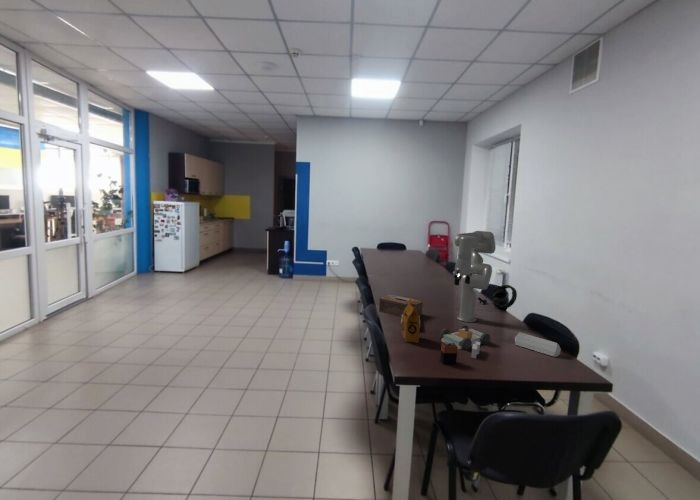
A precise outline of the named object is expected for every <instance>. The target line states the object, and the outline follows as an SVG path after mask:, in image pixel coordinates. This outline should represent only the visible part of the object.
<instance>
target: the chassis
mask: <svg viewBox="0 0 700 500" xmlns="http://www.w3.org/2000/svg"><path fill="white" fill-rule="evenodd" d="M463 328H467V329H468V330H470V331H472V332H473V333H472V339H469V338H464V339H463V338H460V337H458V334H459V331H456V332H452V333H451V331H450V330H449V329H447V328H442V330H441V331H440V333H439V337H440V338H441V339H440V340H441V342H442V343H445V342H448V343H455V345H457V347H458V348H457V350H463V349H464V350H467V351H468V350H469V349H471V348H472V346H473V344H475V342H480V345H481V344H483V345H488V344H489V343H490V341H491V335H490V334H489V333H487V332H484V333H483V332H480V331H478V330H475V329H473V328H470V327H469V326H468V325H466V324H462V325H461V326H460V327H459V329H463Z"/></svg>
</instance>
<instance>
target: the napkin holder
mask: <svg viewBox="0 0 700 500" xmlns="http://www.w3.org/2000/svg"><path fill="white" fill-rule="evenodd" d="M480 346H481V344H480V342H475V344H473V346H471V355H470V356H471V357H470V358H473V359H477V355H479V354H480V348H481V347H480Z"/></svg>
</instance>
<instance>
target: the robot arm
mask: <svg viewBox="0 0 700 500" xmlns="http://www.w3.org/2000/svg"><path fill="white" fill-rule="evenodd" d="M453 243H454V244H455V246H456V247H458V254H457V255H458V256H457V259H456V261H455V264H454V265H455V266H454V270H453V271H452V275H453V278H454V282H453V284H454V285H455V286H460V283H461V294H460V295H461V296H460V306H459V315H457V316H456V319H457V320H459V321H461V322H467V323H474V322H475V323H476V321H477V316H479V312H475V311H476V302H477V301H476V300H477V294H476V291H475V290H483V291H484V290H487V289H488V287H489V285H490V282H491V281H490V280H491V278H492V274H493V266H492V265H491V264H489V263H484V258H483V256H481V254H489V255H491V254H494V253H495V252H496V246H497V245H496V241H495V236H494V233H493V232H492V231H485V230H475V231H473V232H466V233H465V232H464V233H458V234H456V235H455V237H454V242H453ZM480 253H481V254H480ZM460 277H461V280H460ZM460 281H461V282H460Z"/></svg>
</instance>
